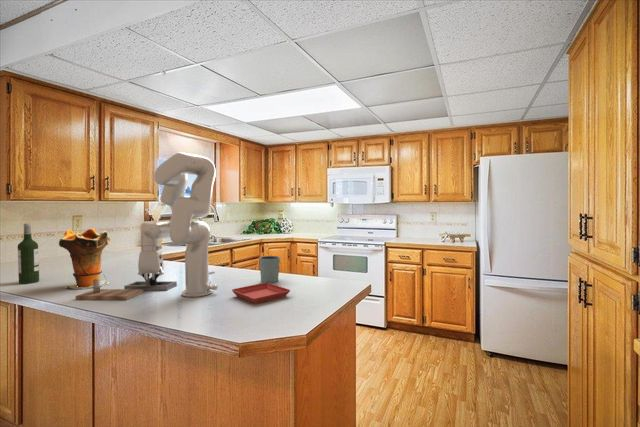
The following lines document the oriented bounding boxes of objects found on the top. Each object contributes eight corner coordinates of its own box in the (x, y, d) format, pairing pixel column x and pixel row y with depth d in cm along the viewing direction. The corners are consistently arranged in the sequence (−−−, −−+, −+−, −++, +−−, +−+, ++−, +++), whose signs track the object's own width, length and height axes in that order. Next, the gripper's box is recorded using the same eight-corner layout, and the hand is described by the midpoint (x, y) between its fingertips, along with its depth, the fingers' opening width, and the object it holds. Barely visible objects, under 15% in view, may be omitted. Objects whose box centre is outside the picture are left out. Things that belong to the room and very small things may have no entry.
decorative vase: (76, 292, 148) (72, 229, 148) (52, 288, 160) (49, 230, 160) (123, 282, 166) (120, 226, 166) (99, 280, 178) (96, 227, 178)
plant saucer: (291, 297, 140) (291, 289, 140) (254, 306, 128) (253, 298, 127) (266, 289, 153) (266, 282, 153) (230, 297, 141) (230, 289, 141)
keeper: (142, 292, 148) (142, 275, 148) (126, 299, 137) (126, 281, 137) (95, 292, 149) (94, 275, 149) (75, 299, 138) (75, 281, 138)
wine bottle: (41, 281, 172) (39, 223, 171) (22, 284, 165) (19, 224, 164) (35, 279, 176) (33, 222, 175) (16, 283, 169) (14, 223, 168)
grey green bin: (258, 279, 172) (258, 256, 171) (278, 278, 175) (277, 255, 174) (261, 284, 162) (260, 259, 162) (281, 282, 165) (281, 258, 165)
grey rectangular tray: (176, 285, 160) (176, 275, 160) (167, 290, 151) (166, 279, 151) (136, 285, 162) (136, 275, 161) (124, 290, 153) (124, 279, 152)
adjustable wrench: (190, 283, 167) (190, 280, 166) (179, 283, 168) (179, 279, 168) (216, 273, 191) (216, 269, 191) (206, 272, 192) (206, 269, 192)
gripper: (170, 247, 159) (171, 286, 160) (138, 247, 160) (139, 285, 161) (162, 249, 152) (163, 290, 152) (129, 249, 153) (130, 289, 153)
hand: (151, 287), depth 156 cm, fingers closed on grey rectangular tray
